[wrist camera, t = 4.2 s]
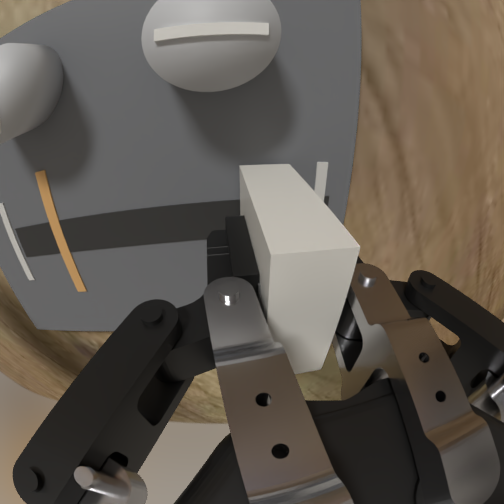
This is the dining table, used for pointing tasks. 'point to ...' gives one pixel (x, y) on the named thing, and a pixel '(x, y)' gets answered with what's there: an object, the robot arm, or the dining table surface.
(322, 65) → the console
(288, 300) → the block
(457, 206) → the dining table surface
